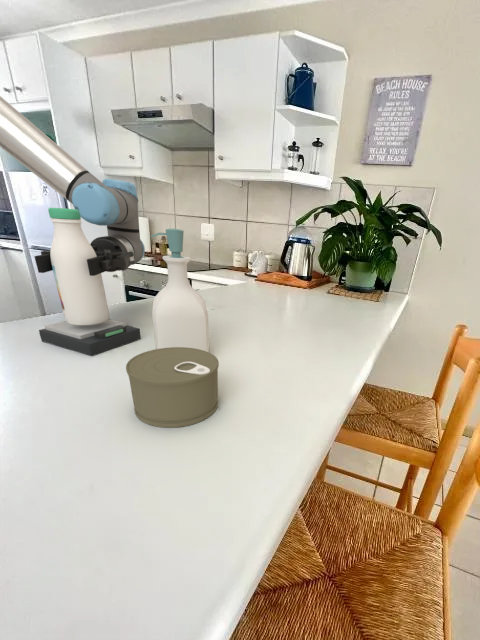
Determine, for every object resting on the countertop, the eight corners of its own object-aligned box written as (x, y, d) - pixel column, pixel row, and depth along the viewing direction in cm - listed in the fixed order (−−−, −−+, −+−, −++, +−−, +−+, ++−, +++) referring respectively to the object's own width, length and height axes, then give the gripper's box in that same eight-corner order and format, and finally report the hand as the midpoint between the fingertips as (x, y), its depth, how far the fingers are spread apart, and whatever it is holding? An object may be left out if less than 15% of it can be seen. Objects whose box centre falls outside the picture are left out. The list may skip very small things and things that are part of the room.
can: (172, 380, 54) (169, 341, 51) (234, 398, 51) (234, 357, 47) (113, 413, 44) (104, 367, 41) (184, 438, 40) (180, 390, 37)
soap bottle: (158, 346, 67) (145, 225, 57) (205, 345, 70) (201, 229, 60) (157, 365, 59) (141, 227, 49) (210, 362, 62) (206, 232, 52)
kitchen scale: (41, 341, 65) (37, 325, 63) (94, 327, 75) (91, 312, 73) (91, 356, 60) (88, 339, 59) (141, 338, 70) (139, 323, 69)
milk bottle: (118, 318, 68) (99, 210, 58) (89, 328, 61) (63, 208, 52) (87, 313, 69) (64, 207, 60) (56, 323, 62) (24, 205, 53)
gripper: (158, 272, 80) (129, 291, 59) (68, 267, 77) (6, 284, 57) (155, 239, 76) (123, 247, 56) (61, 232, 73) (-8, 238, 53)
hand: (65, 266), depth 56 cm, fingers closed on milk bottle, 8 cm apart
